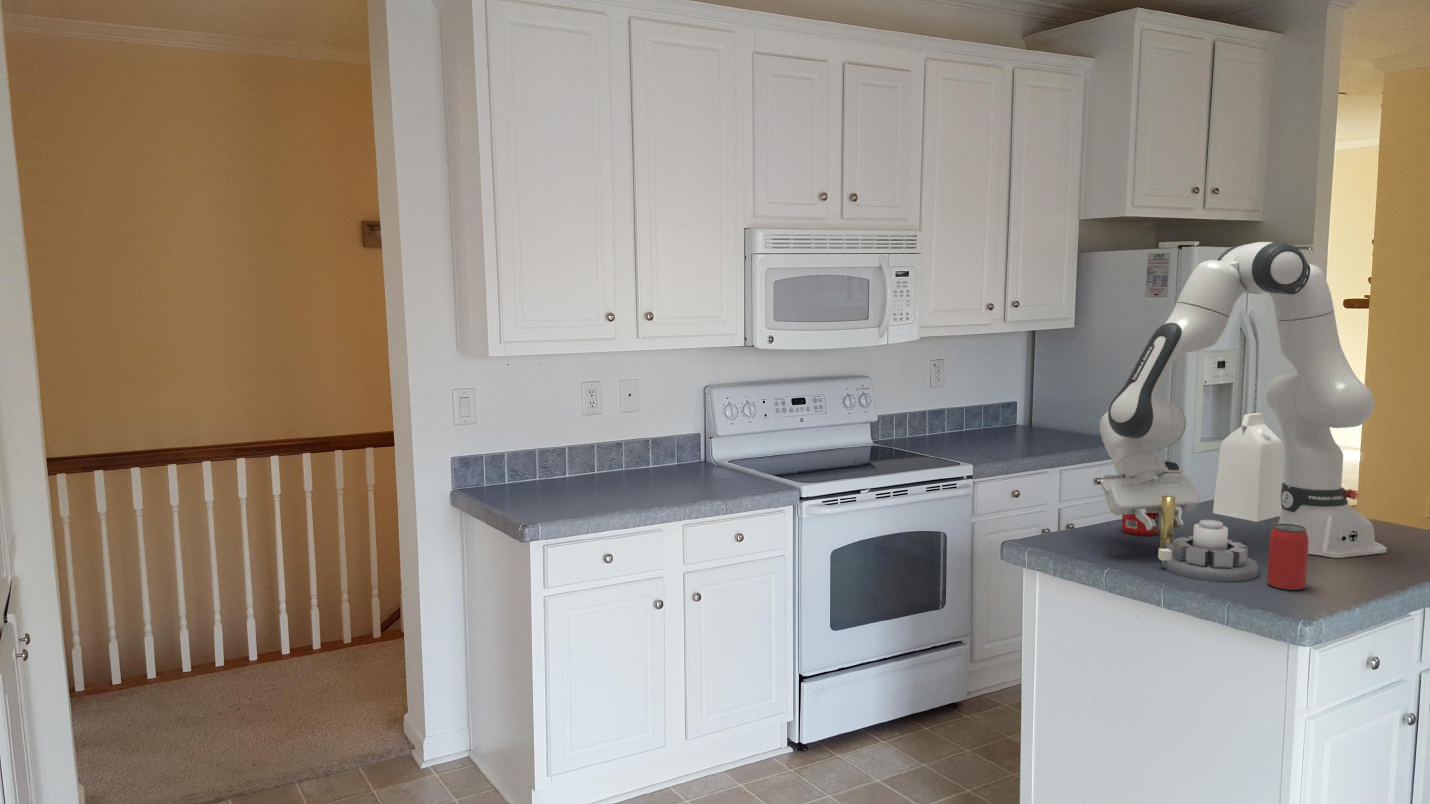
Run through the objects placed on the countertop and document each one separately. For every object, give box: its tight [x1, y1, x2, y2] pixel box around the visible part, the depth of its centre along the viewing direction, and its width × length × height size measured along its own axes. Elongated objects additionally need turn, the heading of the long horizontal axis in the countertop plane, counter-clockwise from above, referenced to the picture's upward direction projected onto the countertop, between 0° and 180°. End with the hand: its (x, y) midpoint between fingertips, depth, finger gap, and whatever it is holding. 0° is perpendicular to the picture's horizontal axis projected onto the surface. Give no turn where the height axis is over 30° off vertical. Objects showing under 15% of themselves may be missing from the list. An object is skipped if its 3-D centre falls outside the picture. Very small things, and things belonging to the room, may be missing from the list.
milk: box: [1212, 412, 1284, 523], centre depth 256 cm, size 12×12×26 cm
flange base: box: [1157, 519, 1259, 583], centre depth 209 cm, size 19×18×10 cm
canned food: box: [1121, 512, 1160, 537], centre depth 239 cm, size 8×8×11 cm
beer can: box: [1266, 523, 1309, 591], centre depth 196 cm, size 7×7×12 cm
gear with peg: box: [1159, 495, 1248, 568], centre depth 210 cm, size 17×13×12 cm
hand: (1165, 527), depth 214 cm, fingers open, 5 cm apart
